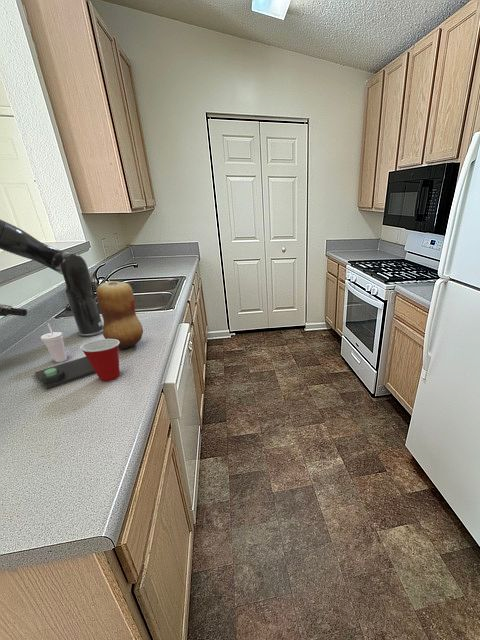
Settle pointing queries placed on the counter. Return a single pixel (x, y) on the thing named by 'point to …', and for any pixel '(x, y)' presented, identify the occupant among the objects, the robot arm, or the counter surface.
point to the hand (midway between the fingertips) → (26, 312)
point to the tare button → (51, 372)
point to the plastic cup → (103, 357)
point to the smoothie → (55, 345)
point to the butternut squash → (119, 313)
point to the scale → (66, 373)
